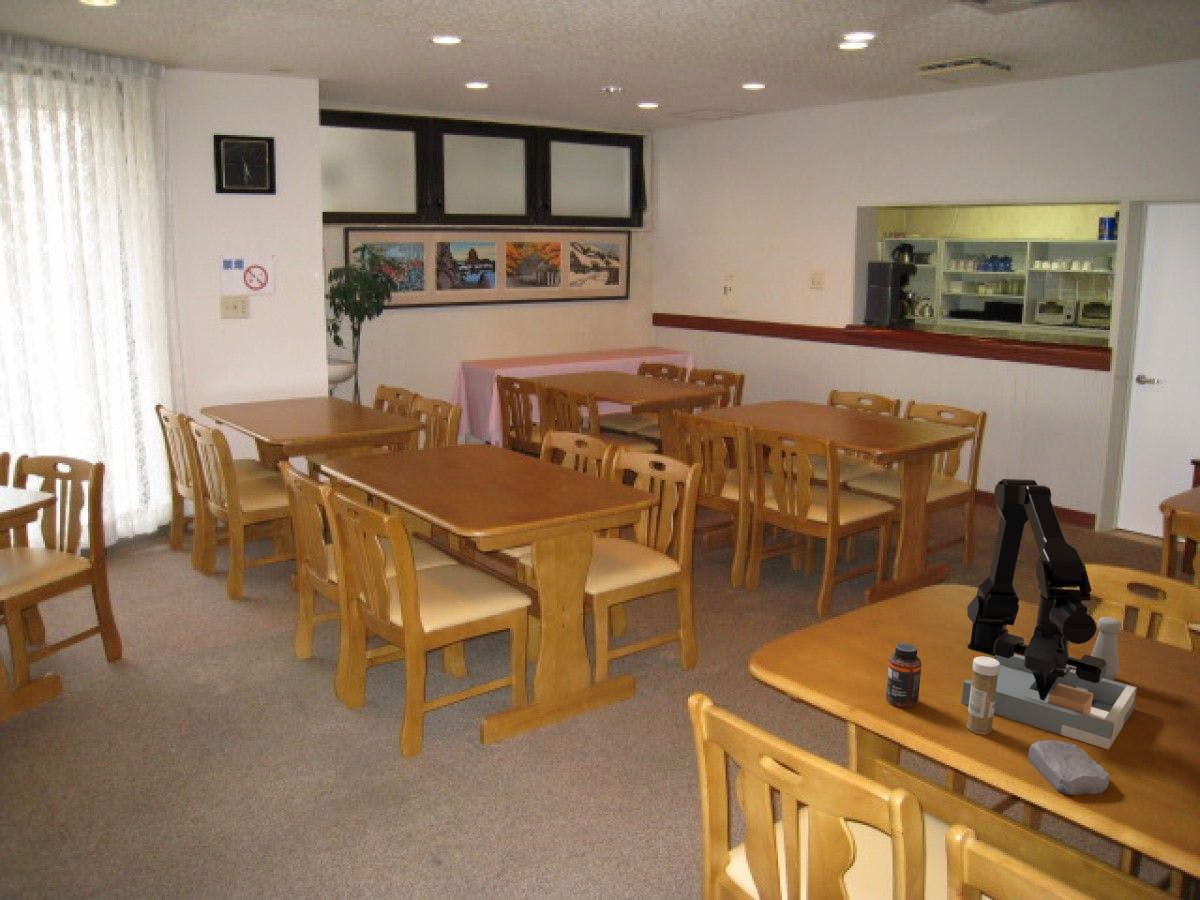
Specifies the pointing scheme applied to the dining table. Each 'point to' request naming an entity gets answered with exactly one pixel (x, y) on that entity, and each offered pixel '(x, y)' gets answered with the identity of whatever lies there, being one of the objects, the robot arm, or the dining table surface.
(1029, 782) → the dining table surface
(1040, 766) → the stone block
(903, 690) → the supplement bottle
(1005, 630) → the robot arm
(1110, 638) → the salt shaker
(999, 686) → the box
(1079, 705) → the terracotta block
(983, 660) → the sprinkles bottle
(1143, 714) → the dining table surface
